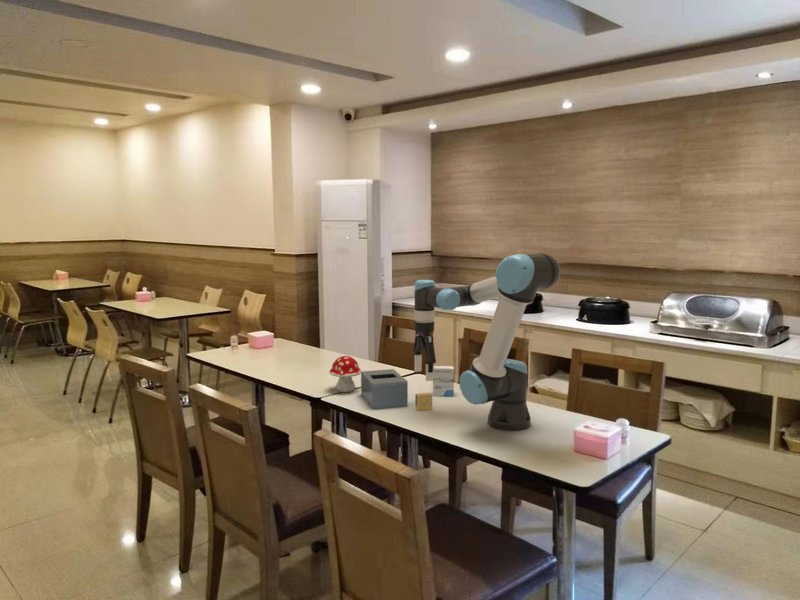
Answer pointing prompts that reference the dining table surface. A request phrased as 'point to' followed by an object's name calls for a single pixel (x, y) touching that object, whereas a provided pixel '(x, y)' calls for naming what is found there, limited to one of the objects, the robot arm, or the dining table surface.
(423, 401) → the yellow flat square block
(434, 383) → the ink box
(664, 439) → the dining table surface
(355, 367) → the decorative mushroom
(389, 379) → the coin box
